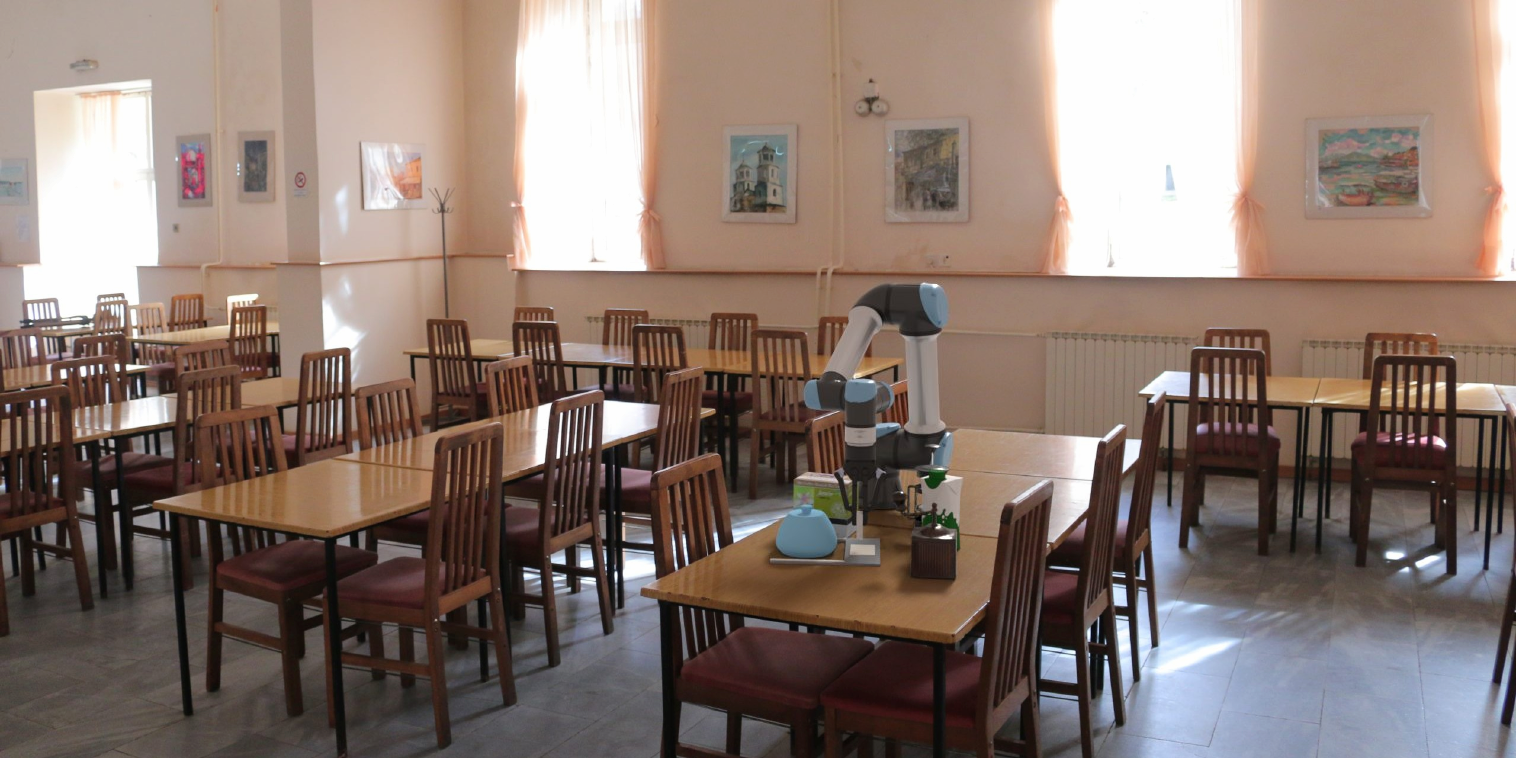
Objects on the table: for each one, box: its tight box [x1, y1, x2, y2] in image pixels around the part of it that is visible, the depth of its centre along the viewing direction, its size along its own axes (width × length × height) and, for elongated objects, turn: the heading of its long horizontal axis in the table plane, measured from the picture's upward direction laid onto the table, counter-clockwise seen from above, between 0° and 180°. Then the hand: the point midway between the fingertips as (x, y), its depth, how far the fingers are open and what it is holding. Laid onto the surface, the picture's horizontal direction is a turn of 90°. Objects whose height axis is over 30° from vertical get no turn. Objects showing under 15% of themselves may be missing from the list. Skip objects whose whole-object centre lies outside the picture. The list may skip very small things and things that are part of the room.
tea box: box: [792, 471, 859, 538], centre depth 303 cm, size 15×10×15 cm
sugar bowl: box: [775, 505, 838, 559], centre depth 285 cm, size 15×15×12 cm
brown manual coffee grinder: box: [891, 491, 958, 581], centre depth 267 cm, size 16×11×18 cm
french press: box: [906, 444, 951, 528], centre depth 303 cm, size 12×9×23 cm
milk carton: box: [919, 469, 964, 550], centre depth 286 cm, size 9×9×20 cm
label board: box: [769, 537, 881, 567], centre depth 285 cm, size 23×26×1 cm
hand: (859, 538), depth 284 cm, fingers closed
